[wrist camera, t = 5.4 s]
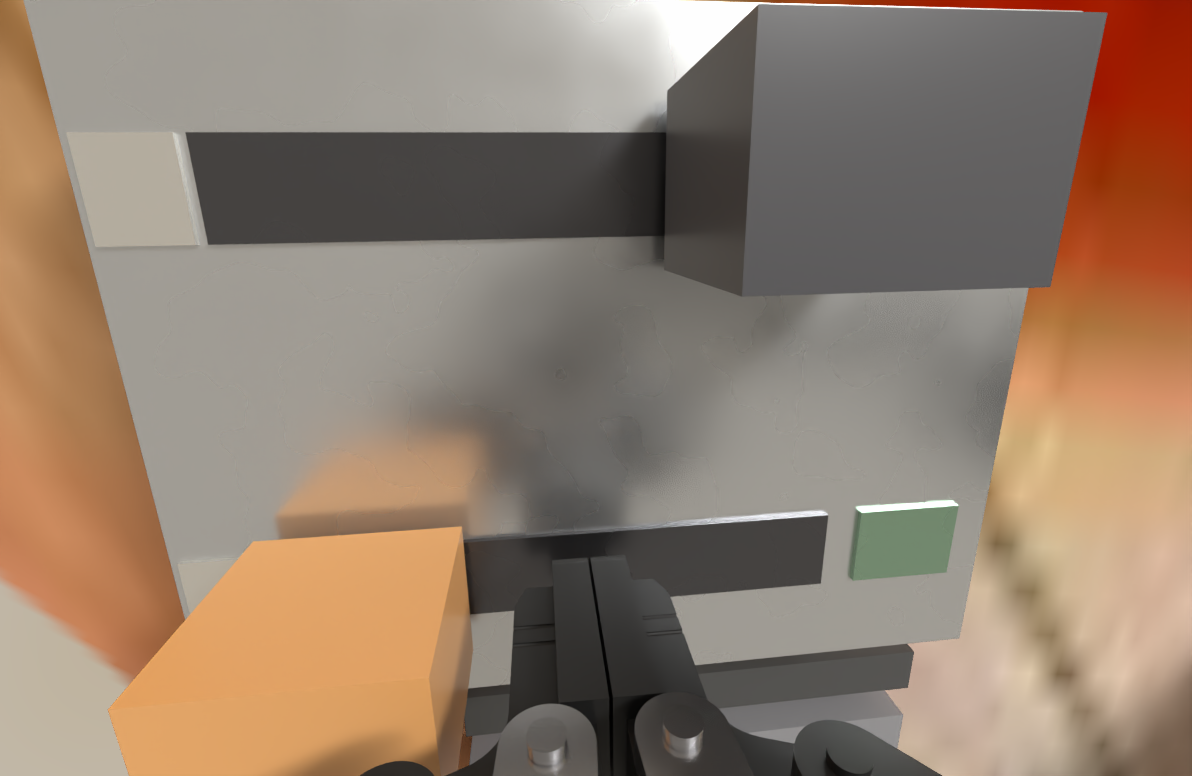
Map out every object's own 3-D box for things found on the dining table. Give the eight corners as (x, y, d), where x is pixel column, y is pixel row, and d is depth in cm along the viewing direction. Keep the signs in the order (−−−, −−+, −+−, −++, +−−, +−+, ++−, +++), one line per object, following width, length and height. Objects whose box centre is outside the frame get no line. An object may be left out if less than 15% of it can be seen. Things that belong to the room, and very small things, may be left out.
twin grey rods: (886, 621, 19) (914, 651, 18) (873, 713, 20) (897, 748, 19) (467, 662, 18) (462, 698, 16) (476, 759, 19) (472, 800, 17)
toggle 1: (461, 526, 11) (429, 678, 8) (473, 649, 12) (449, 840, 8) (253, 541, 11) (107, 710, 7) (279, 668, 12) (161, 878, 8)
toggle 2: (887, 92, 10) (1106, 12, 6) (867, 264, 11) (1049, 286, 7) (666, 91, 10) (758, 3, 6) (663, 269, 10) (742, 297, 7)
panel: (935, 67, 14) (1089, 8, 10) (869, 551, 18) (962, 641, 14) (175, 57, 12) (11, -20, 9) (284, 600, 16) (207, 719, 12)
